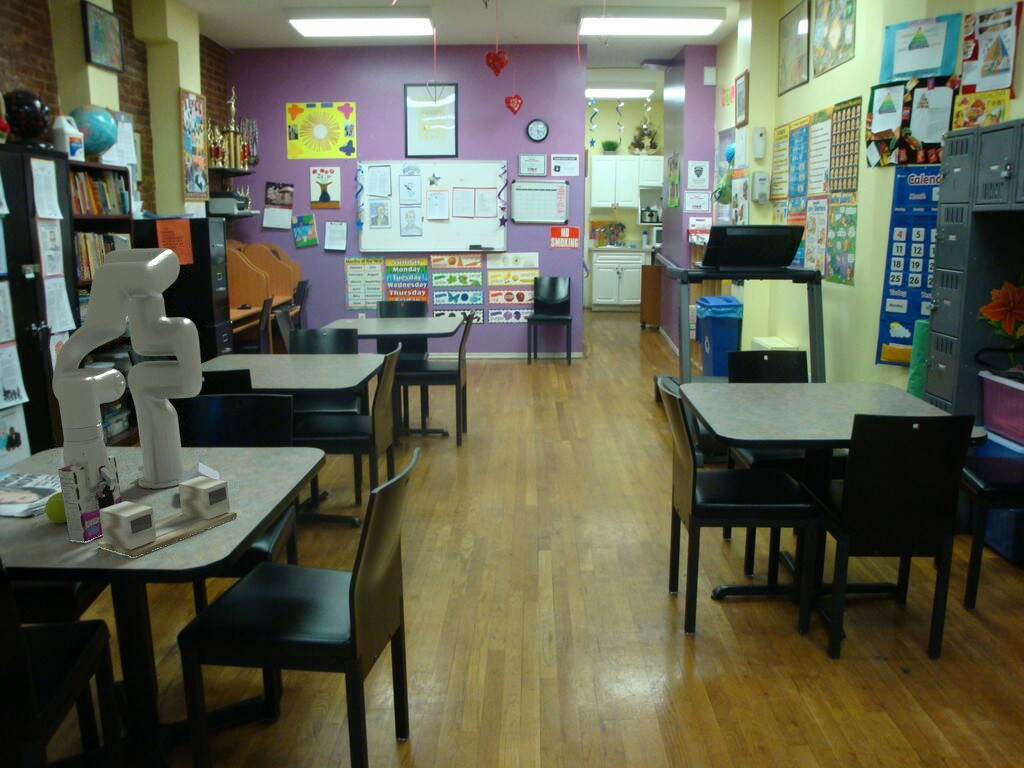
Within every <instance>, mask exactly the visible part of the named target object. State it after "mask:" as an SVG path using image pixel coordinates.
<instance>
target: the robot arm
mask: <svg viewBox="0 0 1024 768" xmlns="http://www.w3.org/2000/svg"><path fill="white" fill-rule="evenodd" d="M179 260H180V259H179V257H178V255H177V253H176V252H174V250H172V249H169V248H164V247H162V248H161V247H160V248H159V247H157V248H156V247H154V248H152V247H151V248H124V249H122V248H121V249H116V250H115V249H114V250H112V251H110V252H109V251H108V252H107V253H106V254H105V255H104V257H103V264H101V265H99V266H98V267H97V268H96V269H95V270H94V273H93V277H92V281H91V288H90V293H89V298H88V304H87V309H86V314H85V315H86V316H85V321H84V322H83V324H82V325H81V326H80V327H79V328H77V330H75V331H74V332H73V333H72V334H71V336H69V338H68V339H67V340H66V341H65V343H64V344H63V345H62V346H61V348H60V349H59V351H58V353H57V356H56V358H55V359H56V360H55V364H54V367H53V368H54V369H53V375H52V392H53V394H54V396H55V398H56V399H57V400H58V404H59V405H58V406H59V412H60V420H61V425H62V426H61V427H62V433H63V434H62V435H63V467H66V466H69V465H76V466H79V467H83V468H84V474H85V482H86V488H87V489H92V488H94V487H95V489H96V491H97V492H98V494H99V496H100V497H98V503H99V510H101V509H104V508H107V507H110V506H113V505H115V504H114V496H113V494H114V493H115V492H114V490H115V488H116V486H115V484H116V477H115V476H114V475H113V474H112V473H111V471H110V464H109V459H108V455H109V454H108V451H107V448H106V444H105V441H104V438H105V436H104V428H103V427H104V426H103V419H102V414H101V411H102V410H101V407H100V405H101V404H106V403H111V402H114V401H117V400H119V399H120V398H122V396H123V395H124V393H125V391H126V385H127V383H128V387H129V391H130V393H131V396H132V400H133V403H134V408H135V413H136V419H137V428H138V436H139V443H140V451H141V460H142V461H141V462H142V464H141V465H139V466H138V467H137V470H138V471H139V472H142V477H140V478H139V479H138V481H137V482H138V486H139V487H140V488H143V489H150V488H152V489H165V488H166V489H167V488H171V487H175V486H179V485H178V483H181V477H182V476H183V475H185V474H186V473H187V472H188V471H187V470H184V463H183V462H184V461H183V452H182V444H181V436H180V427H179V418H178V417H179V416H178V413H177V411H176V409H175V407H174V406H173V404H172V403H171V402H170V400H169V399H186V398H187V399H188V398H189V399H190V398H194V397H196V396H197V395H199V394H200V392H201V390H202V386H203V372H202V371H203V370H202V358H201V349H200V339H199V332H198V329H197V327H196V324H195V323H194V322H193V321H192V320H191V319H189V318H187V317H180V316H178V317H167V315H166V308H165V299H164V296H163V293H164V291H165V292H166V290H167V289H168V288H169V287H170V286H171V285H172V284H173V283H175V282H176V281H177V279H178V277H179V274H180V268H181V267H180V266H181V265H180V261H179ZM128 321H129V332H130V342H131V347H132V350H133V352H135V354H137V355H140V356H143V357H144V356H147V357H150V356H151V357H161V356H165V357H167V356H175V357H176V360H150V361H143V362H138V363H137V364H136V363H135V364H134V365H133V366H132V367H131V368H130V369H129V371H128V374H127V383H126V378H125V377H124V375H123V374H122V372H120V370H118V369H115V368H111V367H96V368H95V367H94V368H93V367H90V368H79V365H80V363H81V362H82V360H83V359H84V357H86V355H88V354H89V353H90V352H91V351H93V350H95V349H97V348H98V347H100V346H102V345H104V344H106V343H108V342H111V341H113V340H115V339H117V338H119V337H121V336H122V335H123V334H124V333H125V332H126V330H127V327H128ZM101 481H103V482H101ZM98 482H100V483H98ZM102 486H105V488H104V490H102V488H101V487H102ZM152 489H151V490H152Z"/></svg>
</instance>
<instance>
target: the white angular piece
mask: <svg viewBox="0 0 1024 768" xmlns="http://www.w3.org/2000/svg"><path fill="white" fill-rule="evenodd" d="M199 476H203V477H208V478H213V479H218V480H220V472H219V471H216V470H215V469H214V468H211V467H209V466H208V465H205V463H202V462H197V463H196V464H195V465H194V466H193V467H191V469H189V470H188V471H187V473H186V474H185V475H183V476H182V477H181V482H184V481H187V480H190V479H193V478H196V477H199Z"/></svg>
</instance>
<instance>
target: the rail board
mask: <svg viewBox="0 0 1024 768" xmlns="http://www.w3.org/2000/svg"><path fill="white" fill-rule="evenodd" d="M177 486H178V493H179V500H180V501H179V502H180V509H181V511H180V512H178V513H175V514H172V515H170V516H166V517H164V518H162V519H159V520H156V521H155V514H154V508H153V507H152V506H147V505H143V504H139V503H135V502H131V501H127V500H125V501H122V503H119V504H116V505H113V506H110V507H107V508H104V509H101V510H99V511H100V518H101V526H102V533H103V536H102V539H103V540H102V541H99V542H97V547H98V546H100V547H102V548H106V549H109V550H112V551H116V552H119V553H122V554H125V555H129V556H131V557H136V556H139V555H141V554H145V553H147V552H150V551H152V550H155V549H157V548H160V547H163V546H165V545H168V544H170V545H172V544H171V543H173V542H175V543H177V542H176V541H178V540H180V539H183V538H185V537H188V536H190V535H192V534H195V533H197V532H200V531H203V530H205V529H208V528H210V527H213V526H215V527H217V526H216V525H218V526H220V525H222V524H221V523H223V522H225V523H227V522H229V521H228V520H230V521H232V520H234V519H233V518H235V519H237V518H238V513H237V512H236V511H232V510H231V507H230V506H231V505H230V497H229V486H228V481H227V480H224V479H223V480H221V479H219V480H218V479H213V478H208V477H203V476H199V477H196V478H193V479H190V480H187V481H184V482H181V483H178V485H177ZM236 517H237V518H236ZM231 519H232V520H231ZM226 521H227V522H226ZM219 524H220V525H219ZM223 524H224V523H223ZM213 528H214V527H213ZM210 529H211V528H210ZM208 530H209V529H208ZM205 531H206V530H205ZM203 532H204V531H203ZM200 533H201V532H200ZM195 535H196V534H195ZM190 537H191V536H190ZM188 538H189V537H188ZM185 539H186V538H185ZM183 540H184V539H183ZM180 541H181V540H180ZM178 542H179V541H178ZM173 544H174V543H173ZM168 546H169V545H168ZM165 547H166V546H165ZM163 548H164V547H163ZM160 549H161V548H160ZM155 551H156V550H155ZM150 553H151V552H150ZM145 555H146V554H145Z"/></svg>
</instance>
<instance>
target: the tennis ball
mask: <svg viewBox="0 0 1024 768" xmlns="http://www.w3.org/2000/svg"><path fill="white" fill-rule="evenodd" d="M44 508H45V509H44V510H45V515H46V517H47V518H48V519H49V520H50V521H52V522H54V523H56V524H65V523H64V522H67V520H66V514H65V508H64V501H63V496H62V491H60V492H57V493H54V494H53V495H51V496H50V497H49V498H48V499H47V501H46V503H45V506H44Z"/></svg>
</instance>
